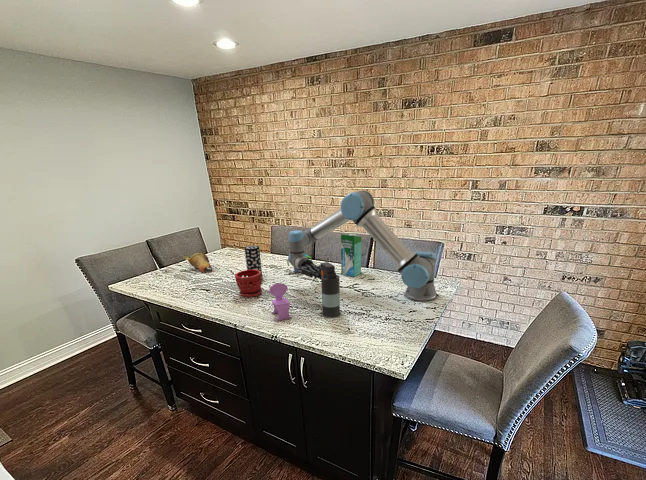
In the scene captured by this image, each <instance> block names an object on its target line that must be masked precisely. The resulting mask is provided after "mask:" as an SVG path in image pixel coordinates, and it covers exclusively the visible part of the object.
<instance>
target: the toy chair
mask: <svg viewBox="0 0 646 480" xmlns="http://www.w3.org/2000/svg"><path fill="white" fill-rule="evenodd" d="M287 291H288V286H287V284H285V283H281V282H277V283H274V284H272V285H271V286H270V287H269V290H268V292H269V293H270V294H271V295H272V296H273V297H275V299H271V303H272V305H273V311H272V314H273V315H274V314H278V316H277V319H276V321H283V320H288V319H291V318H292V317H291V315H290V307H291V303H290V301H289V300H288V298H287V297H283V296H284V295H285V294H286V293H287Z"/></svg>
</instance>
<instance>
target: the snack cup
mask: <svg viewBox="0 0 646 480" xmlns="http://www.w3.org/2000/svg"><path fill="white" fill-rule="evenodd" d="M304 256H305V257H306V258H308V259H310V260H311V261H312V262H313V259H312V257H311V256H310V255H309V254H307V253H304ZM286 262H287V263H286V264H287V266H288V267H289V266H290V262H289V260H286ZM292 267H293V270H294V272H296V273H299V271H298V269H297V268H296V267H294V266H292Z"/></svg>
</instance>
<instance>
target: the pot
mask: <svg viewBox="0 0 646 480" xmlns="http://www.w3.org/2000/svg"><path fill="white" fill-rule="evenodd" d="M182 258H183V259H184V260H186V261H187V262H188V263H189V265H191V266H192V268H196V269H198V270H199V271H200V272H202V273H204V270H205V268H209V269H210V271H211V272H212V271H213V269H212V265H211V264H210V260H209V257H208V255H207V254H205V253H204V252H200V251H199V252H194V253H193V254H191V255H183V256H182Z"/></svg>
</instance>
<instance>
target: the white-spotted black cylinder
mask: <svg viewBox="0 0 646 480" xmlns="http://www.w3.org/2000/svg"><path fill="white" fill-rule="evenodd" d="M243 249H244V257H245V265H246V270H259V271H260V272H261V279H262V282H263V280H264V278H263V268H262V261H261V250H260V246H259V245H248V246H247V245H246V246H244V247H243ZM250 276H253V275H250Z"/></svg>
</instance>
